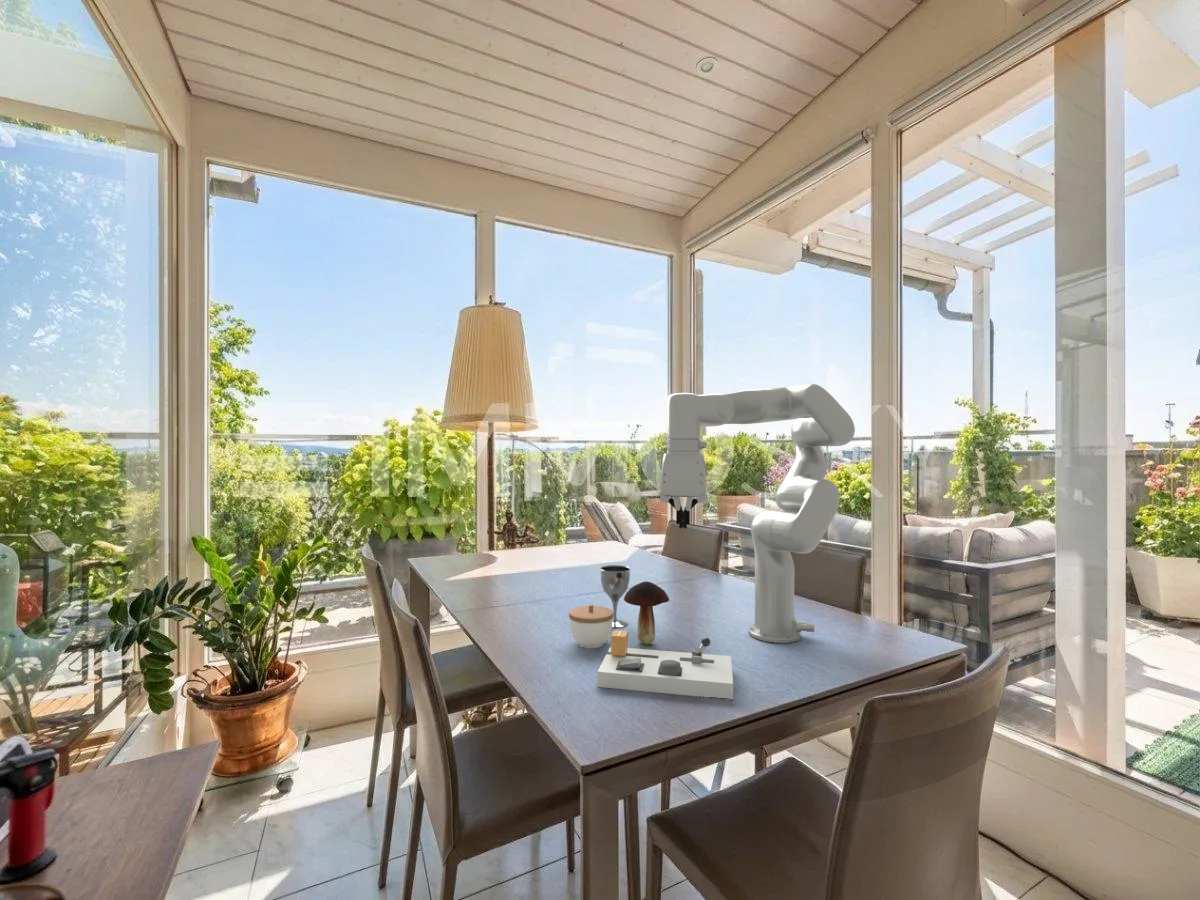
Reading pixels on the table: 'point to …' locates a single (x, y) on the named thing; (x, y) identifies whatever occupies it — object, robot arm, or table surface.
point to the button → (670, 668)
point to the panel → (644, 675)
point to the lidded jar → (590, 625)
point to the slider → (619, 643)
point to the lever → (703, 646)
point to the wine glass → (615, 587)
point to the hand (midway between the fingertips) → (683, 527)
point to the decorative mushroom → (646, 607)
